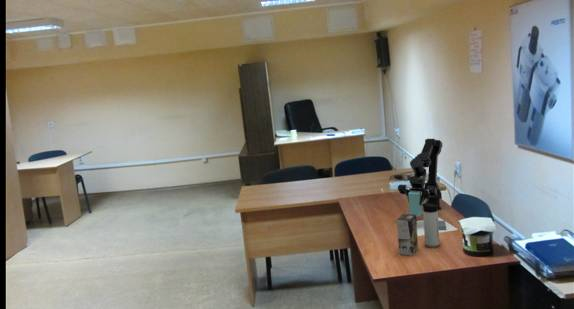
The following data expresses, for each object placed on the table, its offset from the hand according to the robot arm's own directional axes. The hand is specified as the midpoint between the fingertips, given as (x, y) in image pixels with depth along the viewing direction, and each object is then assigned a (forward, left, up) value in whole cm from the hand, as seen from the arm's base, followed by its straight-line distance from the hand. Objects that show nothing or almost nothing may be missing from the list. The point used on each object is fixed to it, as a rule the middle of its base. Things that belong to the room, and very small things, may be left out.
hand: (414, 204), depth 231 cm
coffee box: (+14, +23, -13) cm, 30 cm away
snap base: (-10, +3, -12) cm, 16 cm away
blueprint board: (-6, 0, -13) cm, 14 cm away
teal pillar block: (-1, -1, -6) cm, 6 cm away
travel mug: (+2, +21, -13) cm, 25 cm away
